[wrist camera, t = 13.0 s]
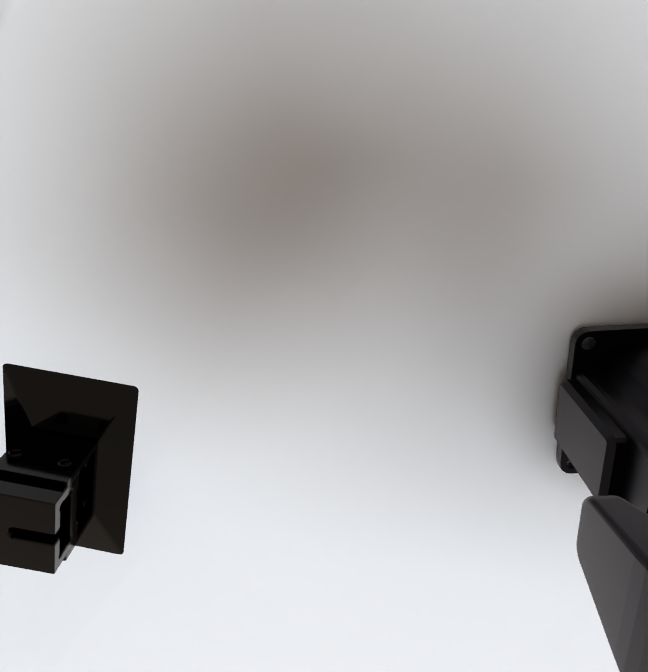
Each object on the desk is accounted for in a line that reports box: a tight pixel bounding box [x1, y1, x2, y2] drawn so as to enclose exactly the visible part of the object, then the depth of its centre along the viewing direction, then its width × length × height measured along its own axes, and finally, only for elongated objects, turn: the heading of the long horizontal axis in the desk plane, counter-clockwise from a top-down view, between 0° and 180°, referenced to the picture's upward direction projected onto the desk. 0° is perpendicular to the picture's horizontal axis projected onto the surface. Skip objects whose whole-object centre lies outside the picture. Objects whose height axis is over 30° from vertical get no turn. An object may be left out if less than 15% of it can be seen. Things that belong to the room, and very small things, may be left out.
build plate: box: [0, 364, 139, 574], centre depth 22 cm, size 12×7×5 cm, turn 168°
